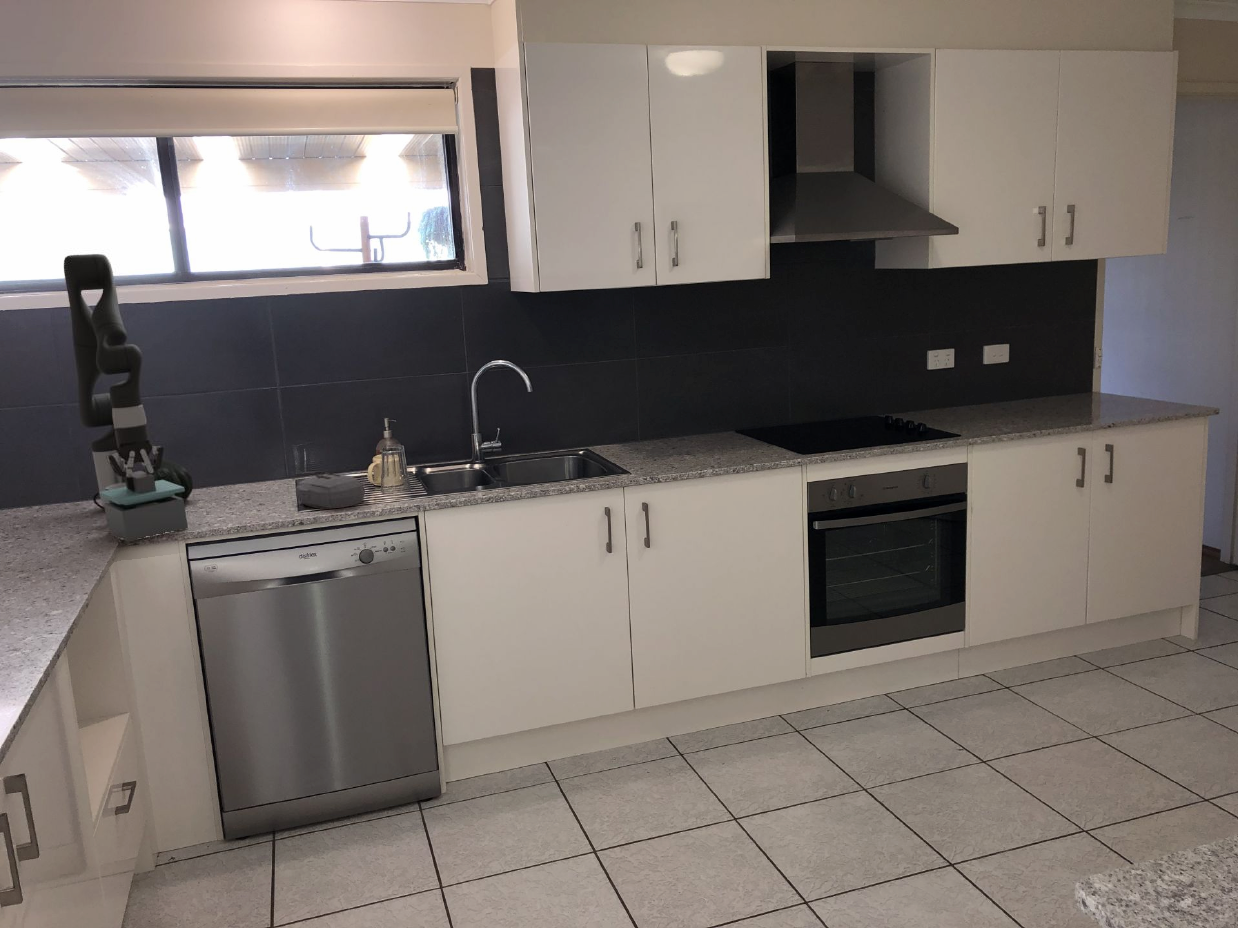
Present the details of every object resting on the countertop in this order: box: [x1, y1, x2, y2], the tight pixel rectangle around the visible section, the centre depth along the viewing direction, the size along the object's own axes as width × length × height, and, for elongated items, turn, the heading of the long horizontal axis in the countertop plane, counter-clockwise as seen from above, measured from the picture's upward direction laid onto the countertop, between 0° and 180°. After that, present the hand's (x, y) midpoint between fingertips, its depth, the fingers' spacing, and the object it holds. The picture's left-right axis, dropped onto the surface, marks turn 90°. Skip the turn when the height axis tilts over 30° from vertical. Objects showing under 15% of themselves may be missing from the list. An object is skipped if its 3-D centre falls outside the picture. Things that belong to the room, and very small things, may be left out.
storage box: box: [104, 496, 189, 543], centre depth 258 cm, size 15×15×8 cm
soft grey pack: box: [295, 472, 366, 510], centre depth 275 cm, size 15×8×20 cm
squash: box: [141, 457, 194, 501], centre depth 287 cm, size 14×15×15 cm
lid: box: [98, 470, 185, 505], centre depth 256 cm, size 16×16×6 cm
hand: (141, 488), depth 257 cm, fingers closed on lid, 4 cm apart
